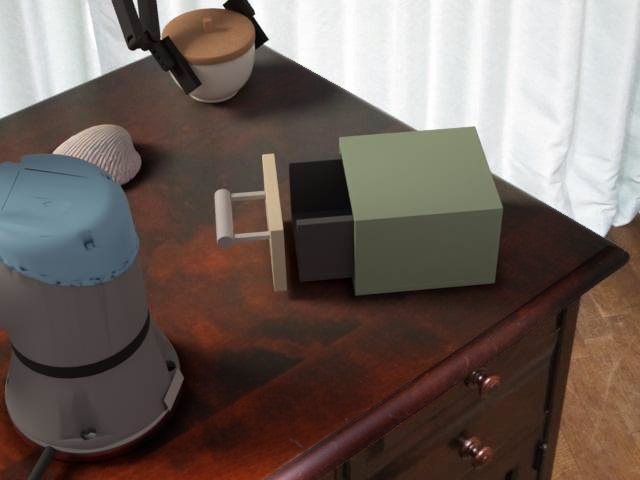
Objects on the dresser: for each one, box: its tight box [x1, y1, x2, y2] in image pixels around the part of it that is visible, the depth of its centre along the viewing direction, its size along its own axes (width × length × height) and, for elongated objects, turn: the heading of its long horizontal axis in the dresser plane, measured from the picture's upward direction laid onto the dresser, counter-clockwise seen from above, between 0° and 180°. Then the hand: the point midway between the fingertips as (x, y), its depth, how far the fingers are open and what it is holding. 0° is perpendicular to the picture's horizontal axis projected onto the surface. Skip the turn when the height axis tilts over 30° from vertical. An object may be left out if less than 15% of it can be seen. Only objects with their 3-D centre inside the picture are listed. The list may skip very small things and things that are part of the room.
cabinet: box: [338, 125, 504, 296], centre depth 112 cm, size 14×13×10 cm
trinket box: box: [160, 7, 256, 104], centre depth 133 cm, size 11×11×9 cm
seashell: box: [52, 123, 142, 187], centre depth 125 cm, size 10×6×10 cm
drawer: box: [213, 153, 354, 293], centre depth 111 cm, size 18×11×8 cm, turn 96°
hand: (228, 67), depth 132 cm, fingers closed on trinket box, 11 cm apart
